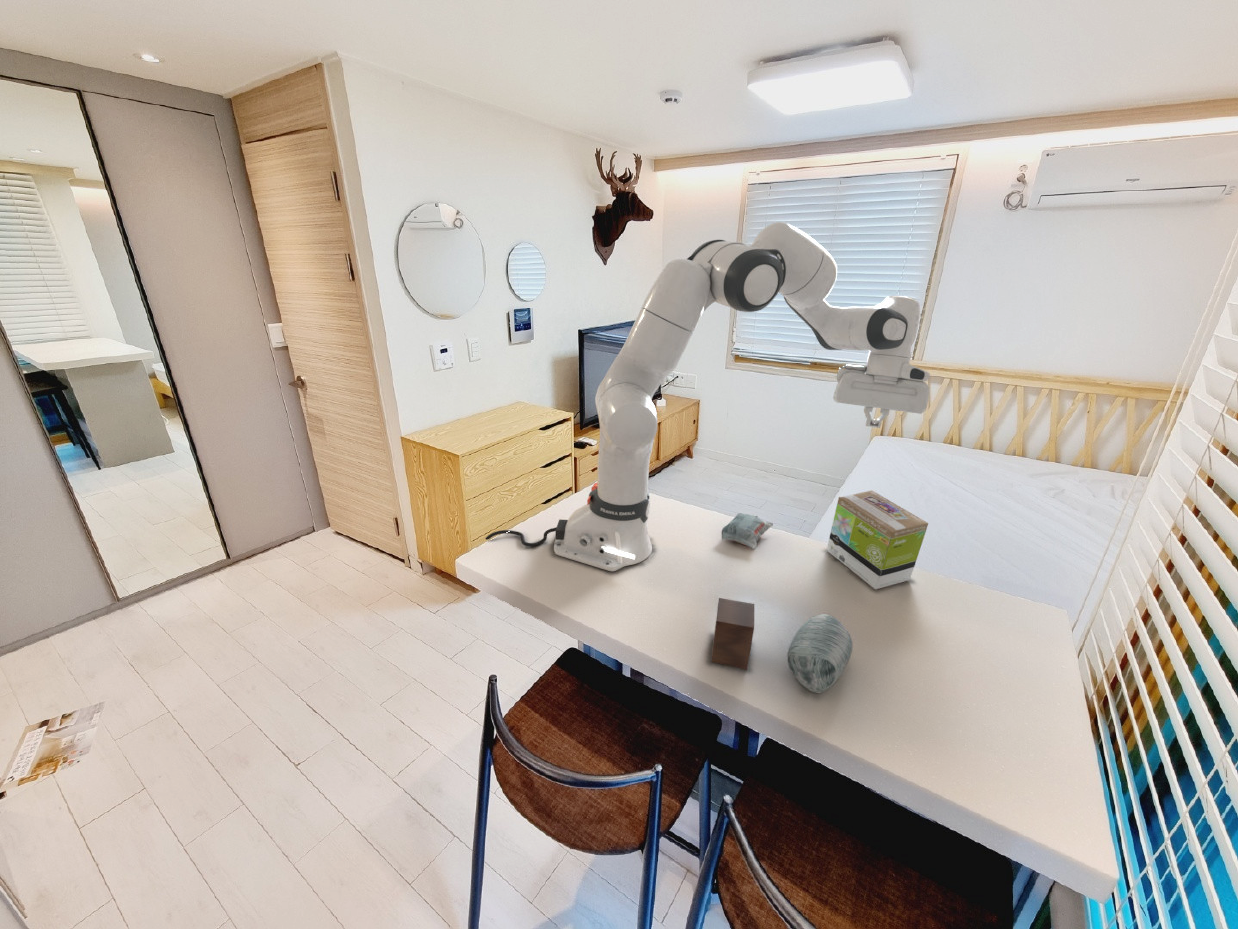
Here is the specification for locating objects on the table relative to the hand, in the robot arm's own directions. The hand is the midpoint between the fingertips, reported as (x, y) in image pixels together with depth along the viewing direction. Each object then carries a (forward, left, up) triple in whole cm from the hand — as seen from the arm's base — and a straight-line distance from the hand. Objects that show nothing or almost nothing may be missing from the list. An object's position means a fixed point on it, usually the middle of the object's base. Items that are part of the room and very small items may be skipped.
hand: (872, 426), depth 121 cm
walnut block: (-28, -57, -25) cm, 68 cm away
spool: (-14, -57, -25) cm, 64 cm away
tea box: (0, -23, -25) cm, 34 cm away
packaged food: (-26, -19, -25) cm, 41 cm away
